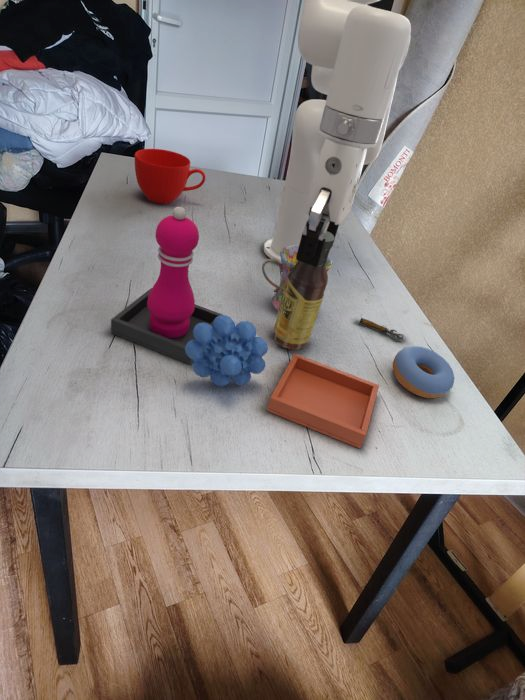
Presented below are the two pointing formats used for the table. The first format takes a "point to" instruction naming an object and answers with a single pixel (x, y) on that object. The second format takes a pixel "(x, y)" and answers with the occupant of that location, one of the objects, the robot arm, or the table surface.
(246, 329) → the blue knobbed flower
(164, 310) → the pepper mill
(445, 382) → the doughnut
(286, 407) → the terracotta tray
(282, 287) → the mug
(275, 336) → the sauce bottle
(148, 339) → the charcoal tray
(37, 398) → the table surface
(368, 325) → the can opener
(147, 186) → the ceramic cup
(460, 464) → the table surface
